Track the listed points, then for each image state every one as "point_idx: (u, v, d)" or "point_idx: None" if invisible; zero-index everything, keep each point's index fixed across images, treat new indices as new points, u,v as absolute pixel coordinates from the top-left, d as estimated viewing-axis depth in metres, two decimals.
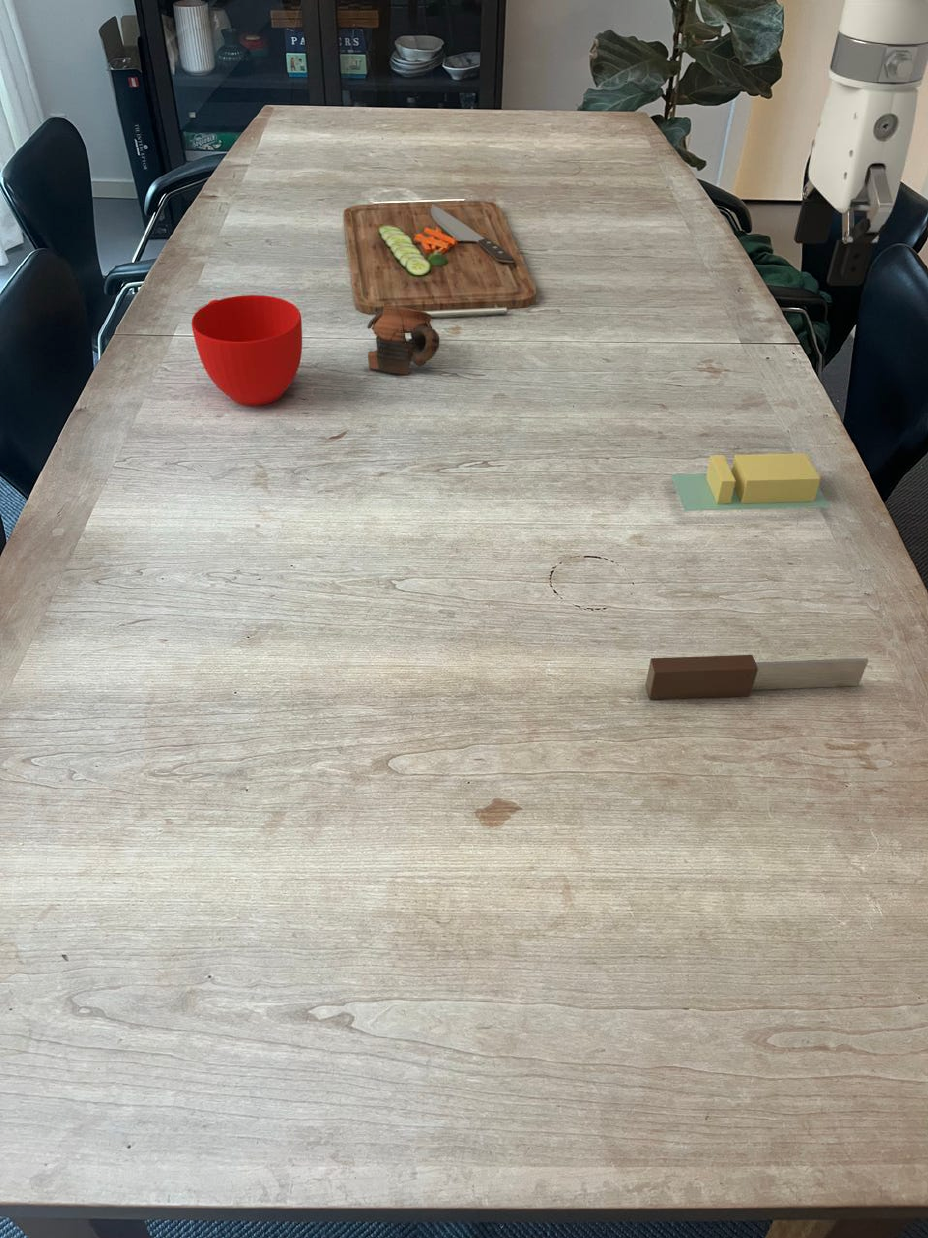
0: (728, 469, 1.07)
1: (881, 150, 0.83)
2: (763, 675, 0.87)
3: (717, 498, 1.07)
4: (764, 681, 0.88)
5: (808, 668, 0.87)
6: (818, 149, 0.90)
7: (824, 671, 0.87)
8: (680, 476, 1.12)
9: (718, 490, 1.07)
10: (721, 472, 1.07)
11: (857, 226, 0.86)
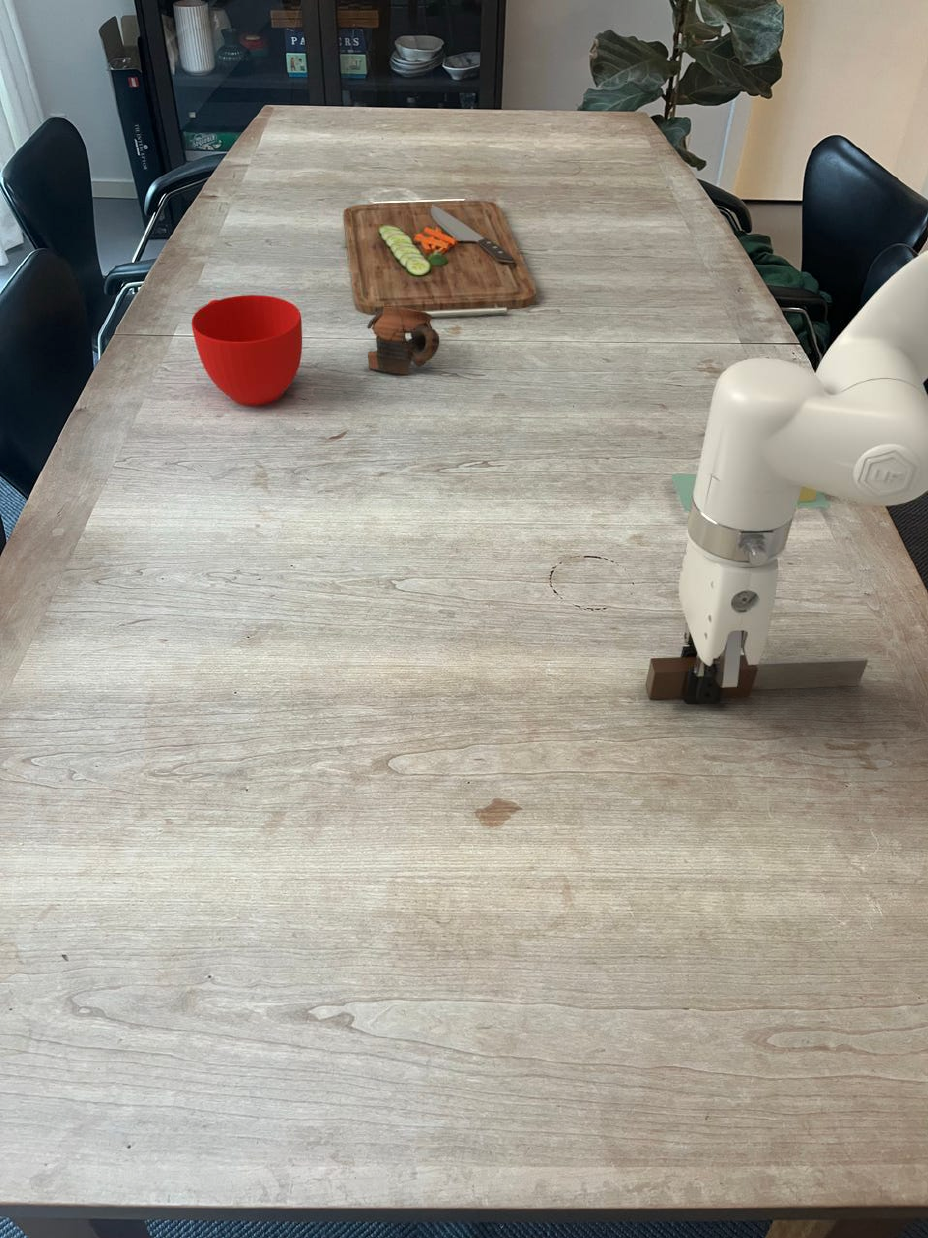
0: None
1: (741, 621, 0.76)
2: (763, 675, 0.87)
3: None
4: (764, 681, 0.88)
5: (808, 668, 0.87)
6: (684, 580, 0.83)
7: (824, 671, 0.87)
8: (680, 476, 1.12)
9: None
10: None
11: (706, 665, 0.82)
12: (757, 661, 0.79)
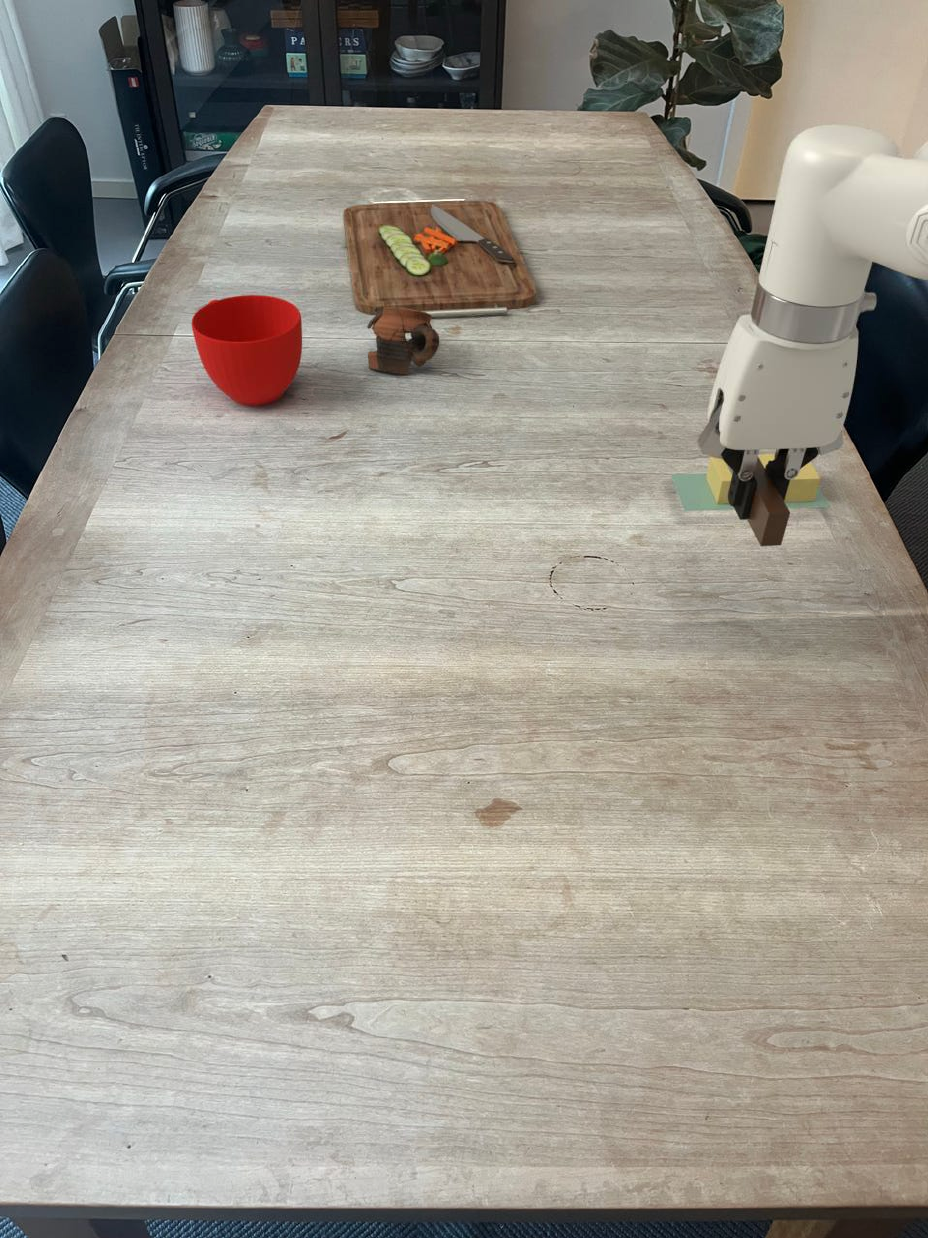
0: (728, 469, 1.07)
1: None
2: None
3: (717, 498, 1.07)
4: None
5: None
6: (758, 417, 0.78)
7: None
8: (680, 476, 1.12)
9: (718, 490, 1.07)
10: (721, 472, 1.07)
11: None
12: None
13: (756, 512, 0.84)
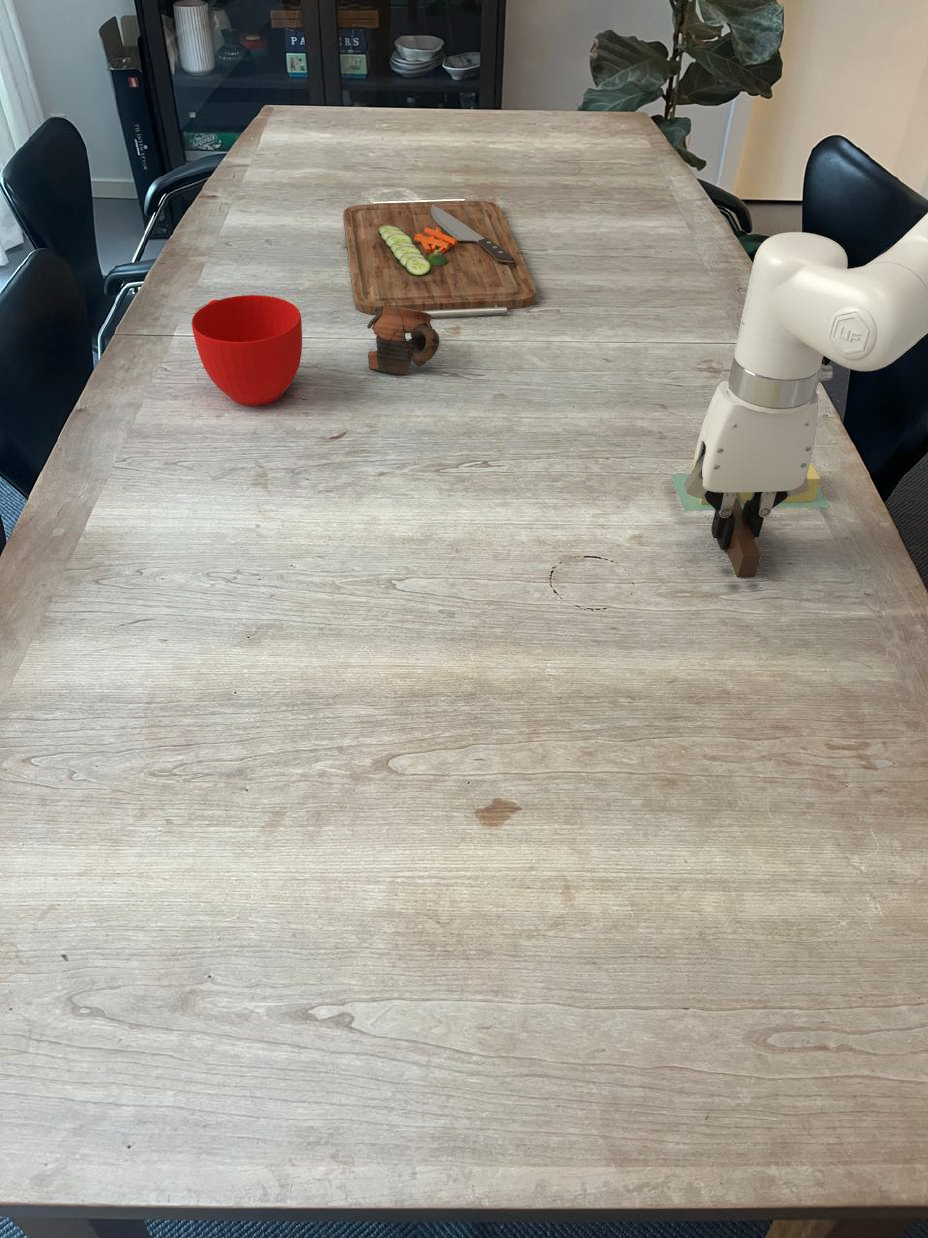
0: None
1: None
2: None
3: None
4: None
5: None
6: (734, 466, 0.93)
7: None
8: (680, 476, 1.12)
9: None
10: None
11: None
12: None
13: (733, 552, 0.99)
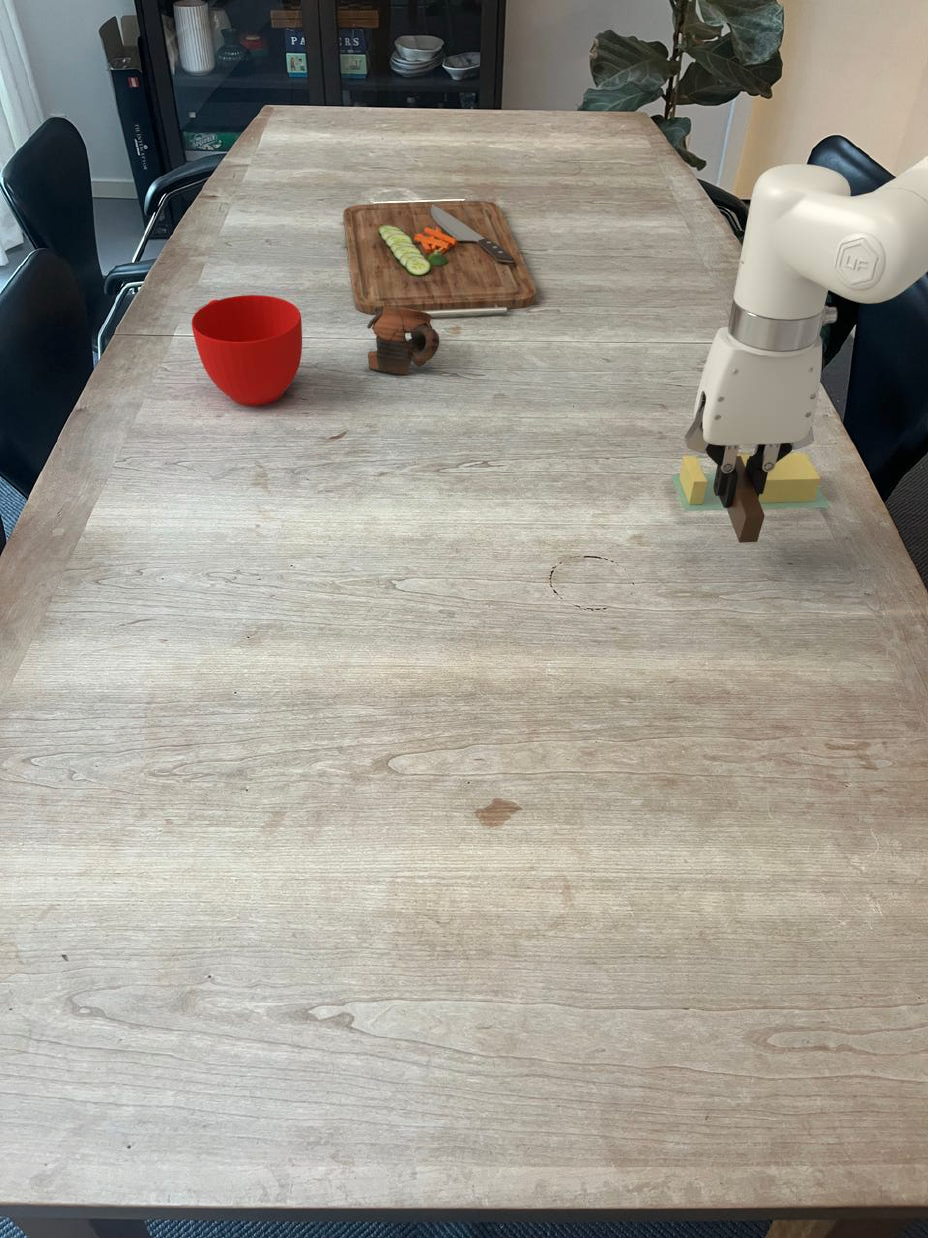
0: (700, 469, 1.07)
1: None
2: None
3: (689, 499, 1.07)
4: None
5: None
6: (736, 416, 0.89)
7: None
8: None
9: (690, 491, 1.07)
10: (693, 472, 1.07)
11: None
12: None
13: (736, 512, 0.95)
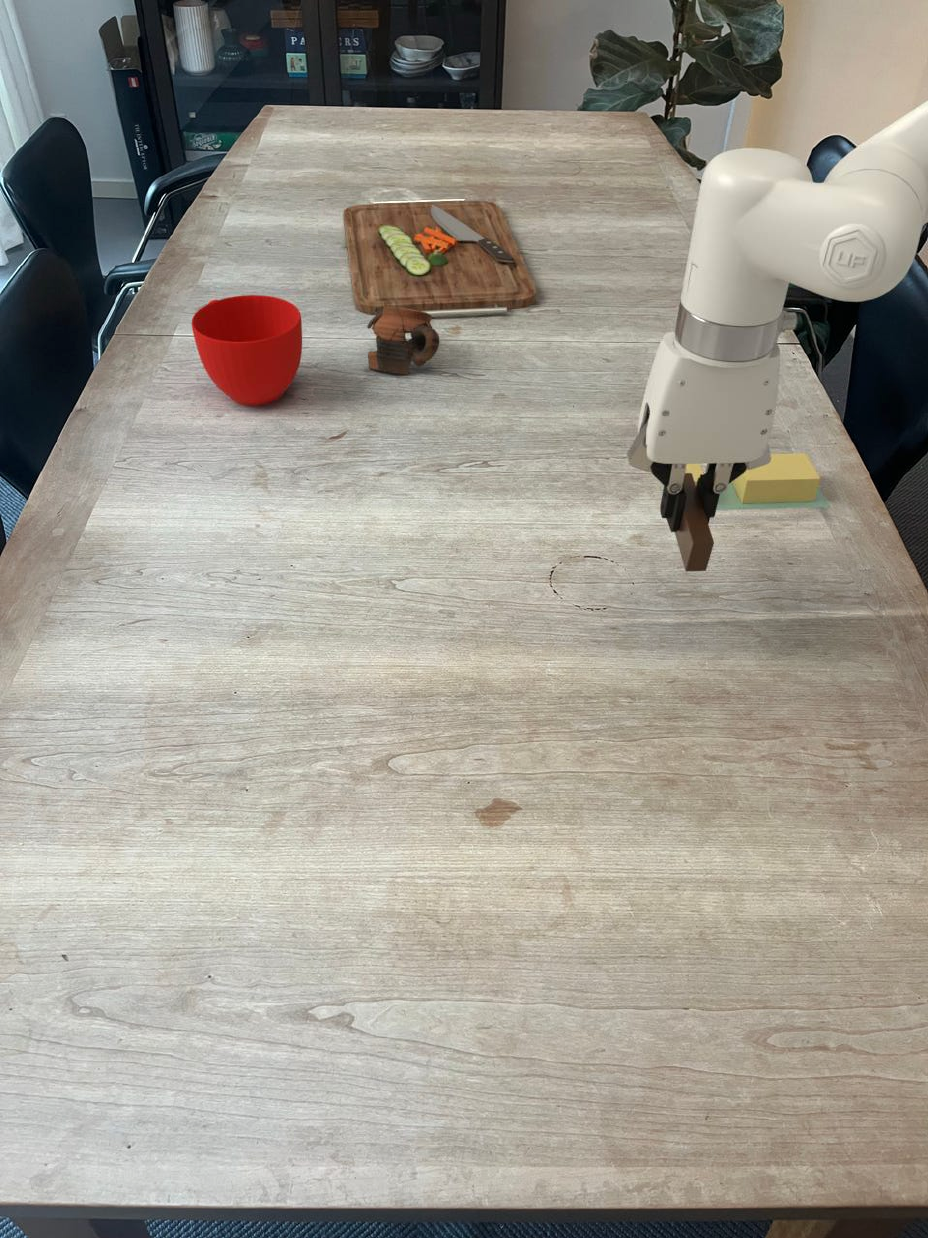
0: (700, 469, 1.07)
1: None
2: None
3: None
4: None
5: None
6: (682, 432, 0.80)
7: None
8: None
9: None
10: (693, 472, 1.07)
11: None
12: None
13: (683, 537, 0.86)
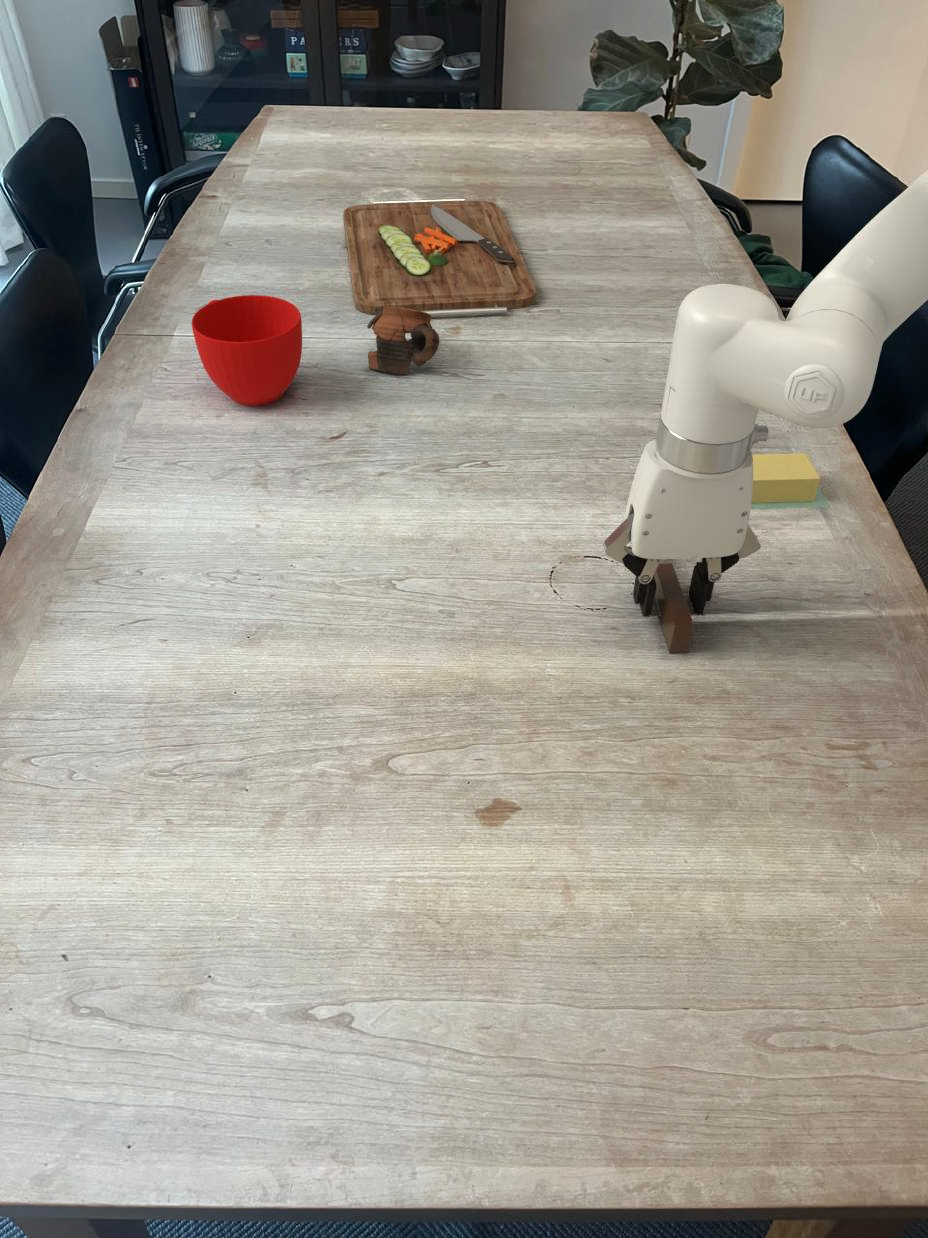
0: None
1: None
2: None
3: None
4: None
5: None
6: (664, 533, 0.86)
7: None
8: None
9: None
10: None
11: (722, 563, 0.91)
12: None
13: (666, 622, 0.92)
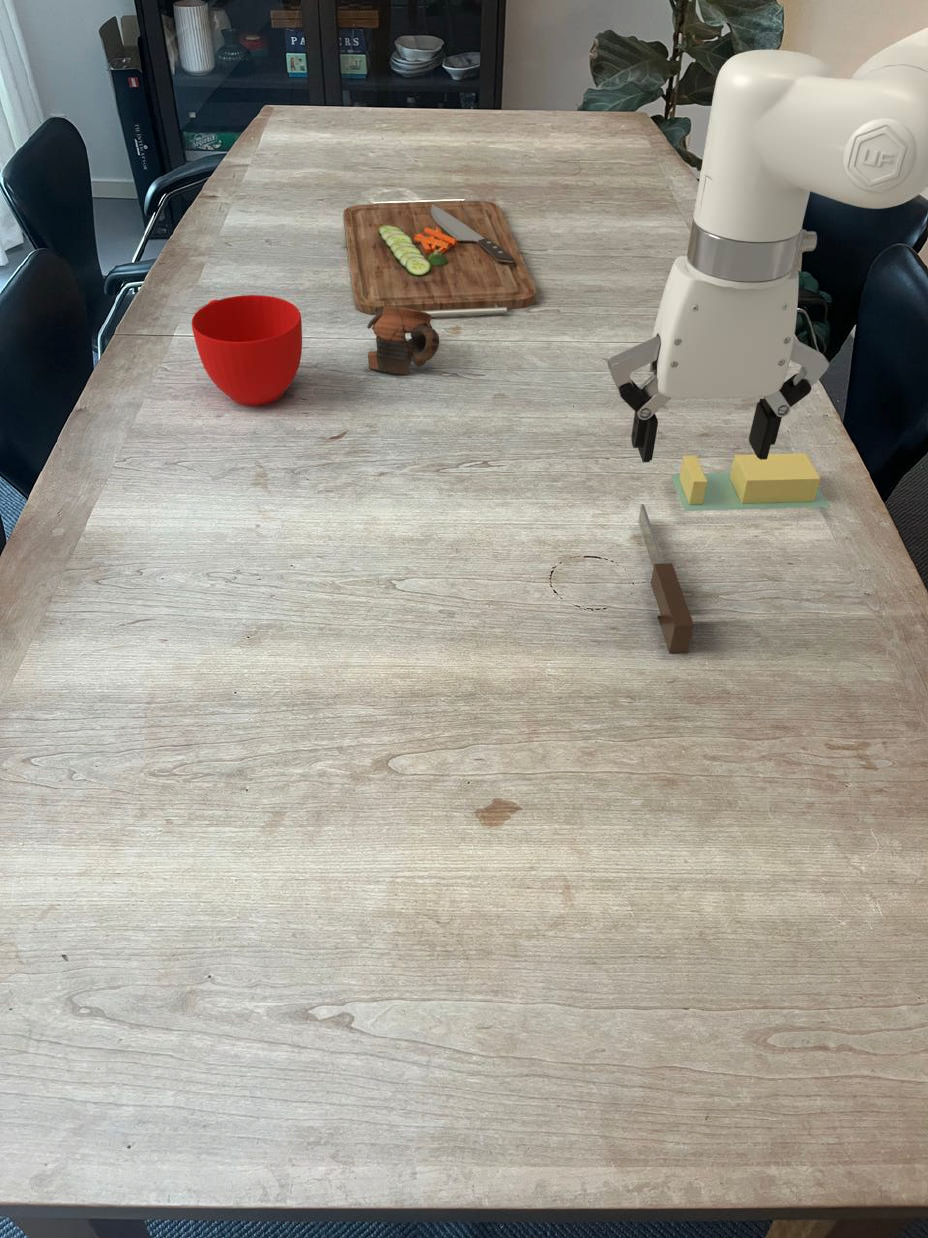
0: (700, 469, 1.07)
1: None
2: None
3: (689, 499, 1.07)
4: None
5: None
6: (696, 363, 0.75)
7: None
8: None
9: (690, 491, 1.07)
10: (693, 472, 1.07)
11: (791, 394, 0.79)
12: None
13: (666, 622, 0.92)
